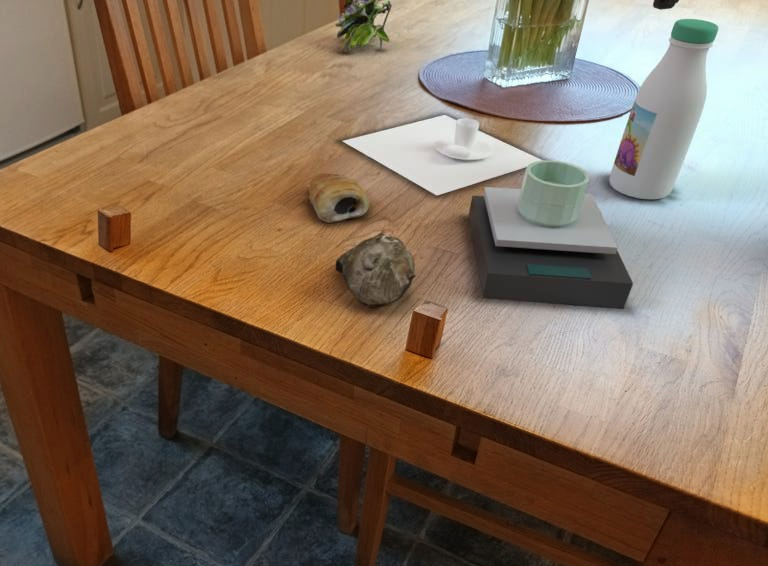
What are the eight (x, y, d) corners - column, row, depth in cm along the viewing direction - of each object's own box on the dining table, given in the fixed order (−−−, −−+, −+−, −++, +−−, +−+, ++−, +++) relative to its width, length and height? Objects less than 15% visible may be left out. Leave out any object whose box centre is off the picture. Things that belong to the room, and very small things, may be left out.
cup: (570, 203, 79) (582, 162, 76) (582, 231, 75) (595, 188, 72) (512, 199, 80) (522, 158, 77) (520, 227, 75) (531, 184, 72)
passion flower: (347, 70, 144) (360, 9, 144) (396, 69, 139) (409, 7, 138) (320, 47, 135) (333, -18, 134) (371, 45, 129) (385, -22, 128)
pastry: (297, 190, 91) (298, 162, 88) (347, 185, 92) (349, 157, 90) (321, 226, 84) (322, 195, 81) (374, 219, 85) (378, 189, 83)
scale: (587, 226, 85) (598, 190, 82) (623, 308, 72) (638, 269, 69) (467, 218, 86) (474, 182, 83) (482, 298, 73) (491, 259, 70)
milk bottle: (672, 181, 95) (734, 19, 82) (669, 206, 89) (736, 36, 77) (610, 170, 97) (662, 10, 84) (604, 193, 92) (658, 26, 79)
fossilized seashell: (431, 296, 68) (415, 257, 77) (400, 239, 66) (387, 205, 74) (360, 331, 70) (353, 289, 79) (328, 278, 68) (324, 240, 76)
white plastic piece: (458, 169, 96) (463, 139, 94) (418, 148, 102) (422, 120, 99) (504, 155, 100) (510, 126, 98) (463, 135, 105) (468, 108, 103)
